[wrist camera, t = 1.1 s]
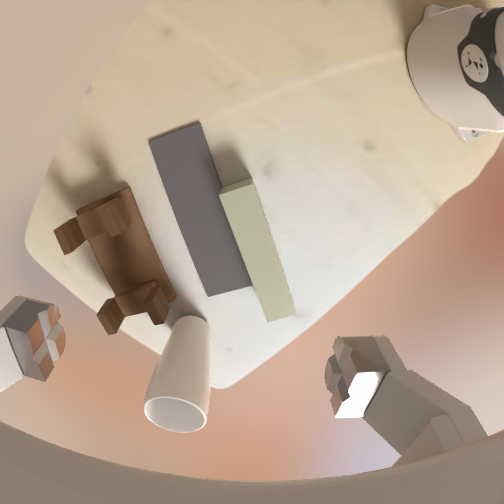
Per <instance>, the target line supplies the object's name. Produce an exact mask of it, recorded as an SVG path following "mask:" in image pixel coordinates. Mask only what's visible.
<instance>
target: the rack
mask: <svg viewBox="0 0 504 504" xmlns="http://www.w3.org/2000/svg"><path fill="white" fill-rule="evenodd" d="M76 213H77V215H78V216H77V217H75V218H73V219H70V220H68V221H67V222H65V223H64V224H62V225H61V226H59V227H58V228H56V229H55V230H53V231H54V233H55V235H56V238H57V240H58V242H59V244H60V246H61V249H62V251H63V253H64V255H66V254H69V253H71V252H73V251H74V250H75V249H76V248H77V247H78V246H80V245H81V244H82V243H83V242H84V241H85V240H88V241H89V243H90V245H91V247H92V250H93V252H94V254H95V256H96V258H97V260H98V262H99V264H100V266H101V268H102V270H103V272H104V274H105V276H106V278H107V280H108V282H109V284H110V286H111V288H112V290H113V292H114V294H115V297H114V298H111V299H107V300H106V302H105V303H104V304H103V306H102V307H101V309H100V310H99V312H98V313H97V317H98V319H99V320H100V322H101V324H102V325H103V327H104V328H105V330H106V332H107V333H108V335H110V334H116V333H117V330H118V329H119V327H120V325H121V323H122V321H123V319H124V318H125V317H127V316H131V315H135V314H140V313H144V312H148V314H149V316H150V318H151V320H152V322H153V323H154V325H159V324H163V323H164V322H165V319H166V316H167V313H168V311H169V308H170V305H169V303H168V302H169V301H173V300H175V299H176V294H175V292H174V290H173V288H172V286H171V284H170V281H169V279H168V277H167V275H166V273H165V270H164V268H163V266H162V264H161V261H160V259H159V257H158V255H157V252H156V250H155V248H154V245H153V243H152V241H151V238H150V236H149V234H148V231H147V229H146V226H145V224H144V221H143V219H142V216H141V214H140V211H139V209H138V206H137V204H136V201H135V199H134V196H133V193H132V191H131V188H130V187H129V188H126V189H124V190H121V191H119V192H117V193H114V194H112V195H110V196H107V197H105V198H103V199H100V200H98V201H96V202H93V203H91V204H89V205H87V206H85V207H82V208H80V209H78V210H77V211H76Z"/></svg>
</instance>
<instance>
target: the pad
mask: <svg viewBox="0 0 504 504" xmlns="http://www.w3.org/2000/svg"><path fill="white" fill-rule="evenodd" d="M149 145H150V148H151V151H152V153H153V156H154V159H155V162H156V165H157V168H158V170H159V173H160V176H161V179H162V182H163V184H164V187H165V190H166V193H167V195H168V198H169V201H170V203H171V206H172V209H173V211H174V214H175V216H176V219H177V222H178V224H179V227H180V229H181V232H182V235H183V237H184V240H185V242H186V245H187V247H188V250H189V252H190V255H191V257H192V260H193V262H194V264H195V267H196V269H197V272H198V274H199V277H200V279H201V281H202V284H203V286H204V288H205V291H206V293H207V296H208V297H210V296H213V295H217V294H221V293H225V292H229V291H233V290H237V289H240V288H244V287H248V286H252V285H253V283H252V281H251V278H250V276H249V273H248V270H247V268H246V265H245V263H244V260H243V257H242V255H241V252H240V250H239V247H238V244H237V242H236V239H235V236H234V234H233V231H232V229H231V226H230V223H229V221H228V218H227V215H226V213H225V210H224V207H223V205H222V202H221V200H220V197H219V194H220V191H221V188H222V187H221V184H220V181H219V178H218V175H217V172H216V169H215V166H214V163H213V160H212V157H211V154H210V151H209V148H208V145H207V142H206V139H205V136H204V133H203V130H202V127H201V124H200V123H198V124H195V125H193V126H190V127H187V128H184V129H181V130H179V131H176V132H173V133H171V134H168V135H165V136H163V137H160V138H158V139H155V140H153V141H150V142H149Z"/></svg>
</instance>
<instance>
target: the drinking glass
mask: <svg viewBox="0 0 504 504" xmlns="http://www.w3.org/2000/svg"><path fill="white" fill-rule="evenodd" d="M211 337H212V332H211V328H210V326H209V324H208V323H207V322H206V321H205V320H203V319H202V318H200V317H197V316H192V315H189V316H183V317H181V318H179V319H178V320H177V321H176V322H175V324H174V326H173V329H172V332H171V334H170V337H169V339H168V341H167V343H166V345H165V348H164V350H163V352H162V354H161V356H160V359H159V361H158V363H157V365H156V368H155V370H154V372H153V374H152V377H151V379H150V382H149V385H148V389H147V392H146V397H145V401H144V405H143V410H144V413H145V415H146V416H147V418H148V419H149V420H150V421H151V422H153V423H154V424H156V425H157V426H159V427H161V428H164V429H166V430H170V431H173V432H182V433H185V432H193V431H197V430H199V429H201V428H202V427H203V426H204V425H205V424H206V421H207V415H208V409H209V401H210V352H211Z"/></svg>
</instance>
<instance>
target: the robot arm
mask: <svg viewBox="0 0 504 504" xmlns="http://www.w3.org/2000/svg"><path fill="white" fill-rule="evenodd" d="M407 62H408V68H409V72H410V76H411V79H412V82H413V84H414V86H415V88H416V90H417V92H418V94H419V96H420V97H421V99H422V100H423V102H424V103H425V104H426V105H427V107H428V108H429V109H430V110H431V111H432V112H433V113H434V114H435V115H437V116H438V117H439V118H441V119H442V120H444V121H445V122H447V123H448V124H450V125H451V126H452V128H453V129H454V131H455V132H456V134H457V135H458V136H459V138H460V139H461V140H462V141H465V142H471V141H473V140H475V139H477V138H479V137H481V136H484V135H486V134H488V133H490V132H497V133H502V132H504V7H501V8H499V7H496V8H491V9H488V10H486V11H483V10H482V9H481V8H476V7H473V6H472V5H470V4H466V5H462V6H458V7H455V8H451V9H449V8H446V7H442V6H439V5H436V4H432V5H428V6H427V7H426V9H425V12H424V17H423V20H422V22H421V23H420V24H419V25H418V26H417V27H416V28H415V29H414V31H413V32H412V34H411V36H410V39H409V42H408V47H407ZM472 130H473V132H472ZM60 317H61V316H60V312H59V309H58V307H57V306H56V305H55V304H52V303H48V302H44V301H40V300H36V299H32V298H27V297H23V296H15V297H14V298H13V299H12V300H11V301H10V302H9V303H8V304H7V305H6V306H5V307H4V308H3V309H2V310H1V311H0V393H1V392H2V391H3V390H5V389H6V388H8V387H9V386H11V385H12V384H13V383H15V382H17V381H18V380H19V379H21V378H22V377H24V376H23V375H25V376H28V377H31V378H34V379H37V380H40V381H44V382H45V381H46V380H47V378H48V376H49V375H50V373H51V371H52V370H53V368H54V365H53V361H55V360H56V359H58V358H60V357H61V355H62V353H63V352H64V347H65V343H66V340H65V332H64V329H63V327H62V326H61V325H60V324H59V322H58V321H59V319H60ZM333 350H334V353H335V354H334V355H332V356H331V357H330V358H329V359H328V361H327V364H326V369H325V383H326V387H327V389H328V390H329V391H330V392H331V393H332V394H333V396H332V398H331V404H332V407H333V411H334V414H335V418H341V417H358V416H363V417H362V418H363V419H364V420H365V421H366V422H367V423H368V424H369V425H371V427H372V428H373V429H374V430H376V431H377V432H378V433H379V434H380V435H381V436H382V437H383V438H384V439H385V440H386V441H387V442H388V443H389V444H390V445H391V446H392V447H393V448H394V449H395V450H396V451H397V452H398V453H399V454H401V455H402V456H401V457H400V458H399V459H398V460H397V461H396V462H395V463H394V464H393V466H392V467H389V468H385V469H380V470H375V471H369V472H364V473H358V474H351V475H344V476H336V477H327V478H317V479H304V480H287V481H239V480H220V479H208V478H197V477H188V476H181V475H173V474H167V473H160V472H155V471H149V470H144V469H139V468H134V467H130V466H125V465H120V464H117V463H113V462H109V461H105V460H101V459H98V458H94V457H90V456H87V455H84V454H81V453H78V452H75V451H72V450H69V449H66V448H63V447H60V446H57V445H55V444H52V443H49V442H46V441H44V440H42V439H39V438H37V437H34V436H32V435H30V434H27V433H25V432H23V431H20V430H18V429H16V428H14V427H12V426H10V425H8V424H6V423H3V422H2V421H0V504H504V430H502V431H499V432H497V433H495V434H493V435H490V436H487V434H486V432H485V431H484V429H483V427H482V425H481V424H480V422H479V420H478V419H477V417H476V415H475V414H474V412H473V410H472V409H471V407H470V406H468V405H466V404H465V403H463V402H461V401H460V400H458V399H457V398H455V397H453V396H452V395H450V394H449V393H447V392H445V391H444V390H442V389H441V388H439V387H437V386H436V385H434V384H433V383H431V382H430V381H428V380H426V379H425V378H423V377H422V376H420V375H419V374H417V373H415V372H413V371H412V370H407V369H406V368H405V365H404V364H403V362H402V361H401V359H400V357H399V356H398V354H397V352H396V350H395V349H394V347H393V345H392V344H391V342H390V340H389V339H388V337H386V336H384V335H380V336H365V337H364V336H338V337H337V338H336V339H335V341H334V345H333Z"/></svg>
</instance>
